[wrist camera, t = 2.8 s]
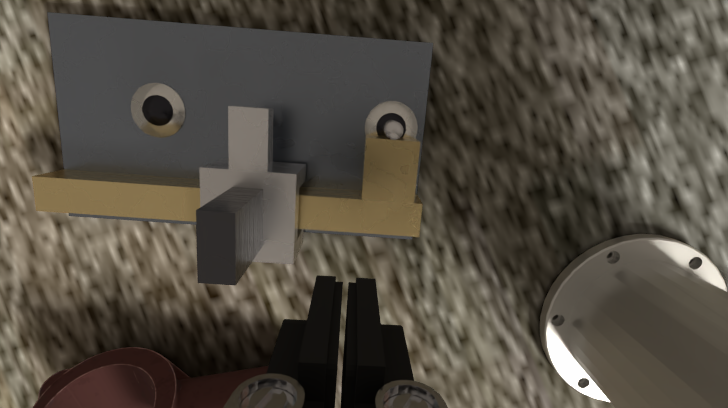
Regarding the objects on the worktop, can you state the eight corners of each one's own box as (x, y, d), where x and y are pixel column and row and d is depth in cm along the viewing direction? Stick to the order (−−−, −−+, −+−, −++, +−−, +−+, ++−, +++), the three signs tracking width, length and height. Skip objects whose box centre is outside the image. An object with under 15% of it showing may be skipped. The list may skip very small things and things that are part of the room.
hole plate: (430, 45, 24) (433, 42, 23) (410, 234, 27) (412, 240, 26) (60, 16, 24) (45, 11, 23) (79, 211, 27) (67, 216, 26)
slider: (308, 110, 24) (279, 113, 16) (303, 241, 26) (275, 307, 17) (223, 103, 24) (148, 103, 15) (224, 235, 26) (158, 299, 17)
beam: (424, 122, 24) (431, 124, 22) (413, 224, 26) (418, 237, 24) (56, 94, 24) (21, 93, 22) (67, 200, 25) (36, 210, 23)
